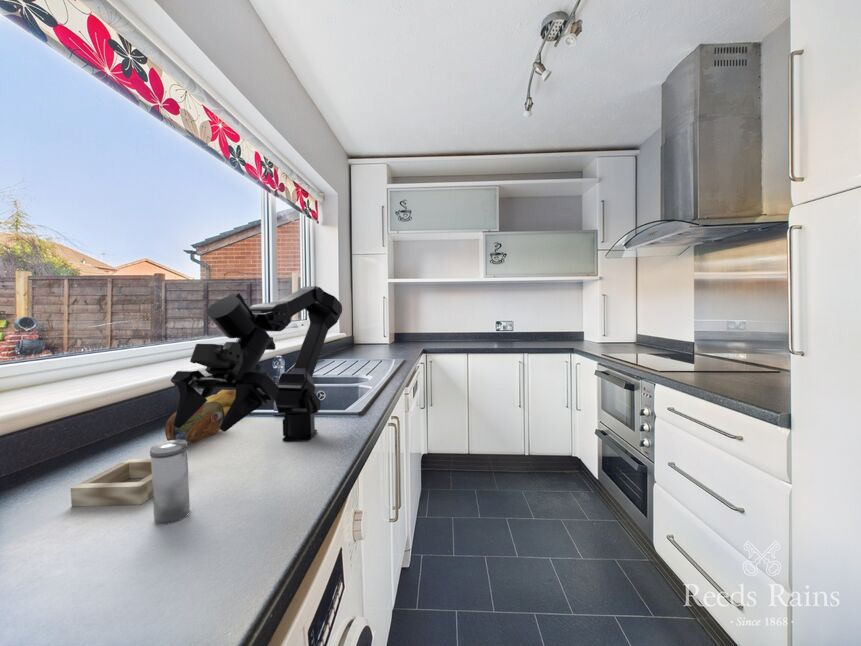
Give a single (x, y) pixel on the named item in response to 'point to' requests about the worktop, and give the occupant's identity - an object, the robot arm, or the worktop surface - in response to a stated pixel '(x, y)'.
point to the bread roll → (223, 399)
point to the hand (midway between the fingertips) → (198, 428)
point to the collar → (116, 485)
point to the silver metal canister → (170, 481)
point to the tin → (197, 424)
